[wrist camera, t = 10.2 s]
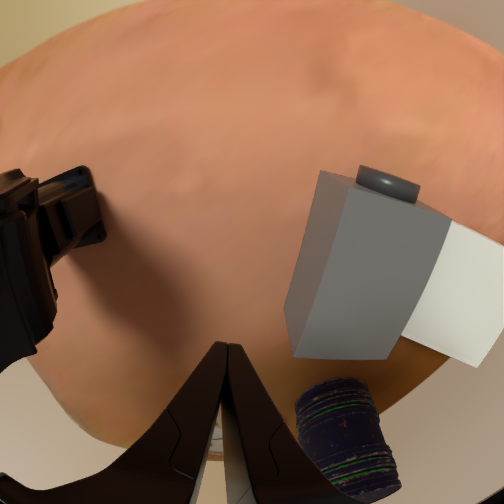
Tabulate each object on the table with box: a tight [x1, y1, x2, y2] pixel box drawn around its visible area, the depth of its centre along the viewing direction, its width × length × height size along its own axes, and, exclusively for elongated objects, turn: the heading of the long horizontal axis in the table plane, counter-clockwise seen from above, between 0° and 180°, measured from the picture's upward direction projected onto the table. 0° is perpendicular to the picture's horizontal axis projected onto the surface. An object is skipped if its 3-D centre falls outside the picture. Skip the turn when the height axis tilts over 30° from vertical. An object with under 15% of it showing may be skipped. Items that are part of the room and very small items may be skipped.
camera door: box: [401, 220, 504, 368], centre depth 19 cm, size 2×11×12 cm
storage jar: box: [295, 378, 402, 504], centre depth 24 cm, size 10×10×15 cm
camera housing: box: [284, 165, 452, 360], centre depth 19 cm, size 8×13×6 cm, turn 170°
